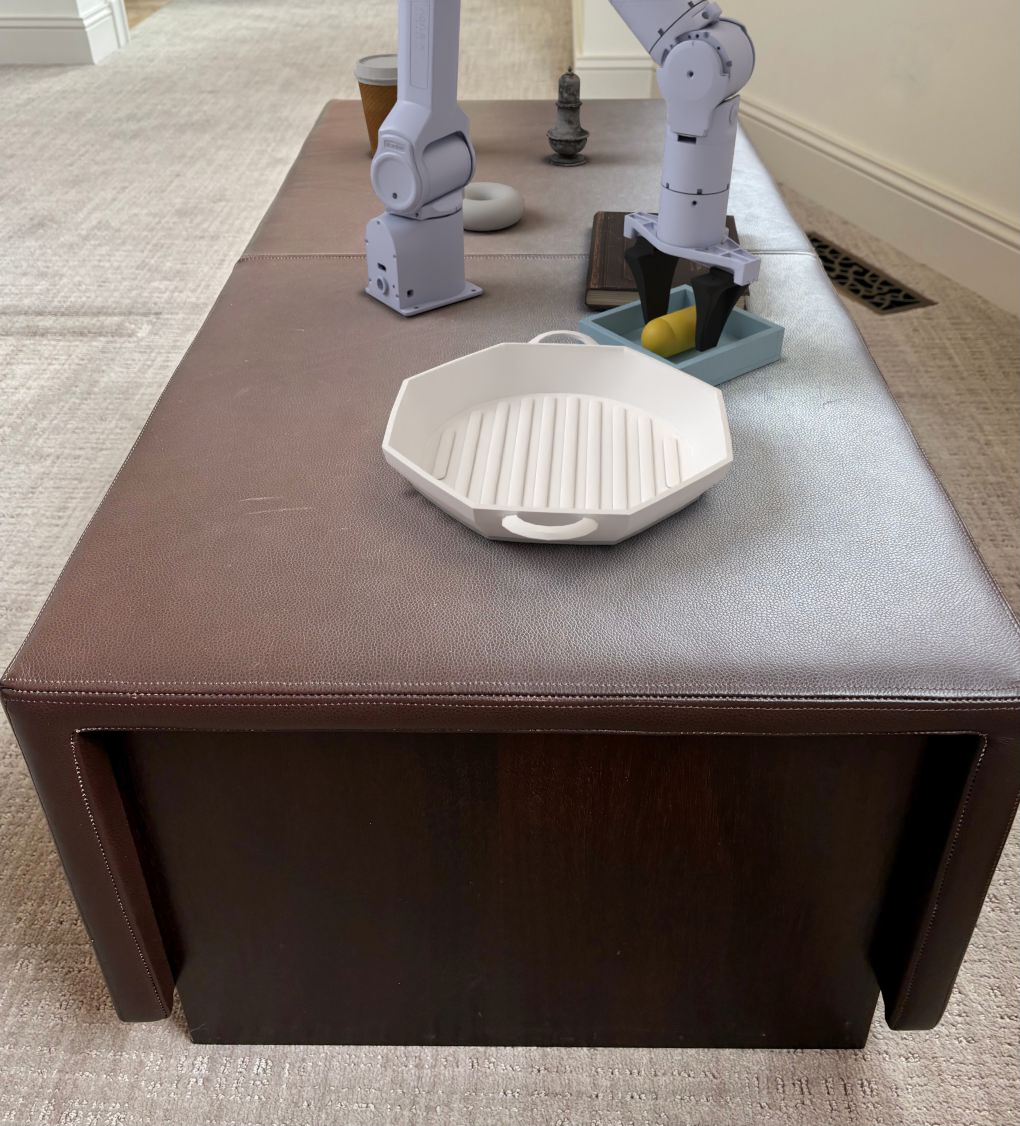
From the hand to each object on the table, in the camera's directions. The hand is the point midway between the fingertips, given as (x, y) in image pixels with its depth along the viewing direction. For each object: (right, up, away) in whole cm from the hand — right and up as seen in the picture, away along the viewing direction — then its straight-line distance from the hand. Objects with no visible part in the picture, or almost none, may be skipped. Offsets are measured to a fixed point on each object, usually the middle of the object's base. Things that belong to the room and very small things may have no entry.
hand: (679, 335), depth 97 cm
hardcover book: (+1, +11, +18) cm, 20 cm away
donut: (-19, +20, +30) cm, 41 cm away
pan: (-12, -13, -14) cm, 23 cm away
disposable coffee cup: (-32, +36, +51) cm, 70 cm away
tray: (0, -2, +1) cm, 2 cm away
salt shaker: (-8, +34, +49) cm, 60 cm away
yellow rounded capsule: (0, -1, +1) cm, 1 cm away
